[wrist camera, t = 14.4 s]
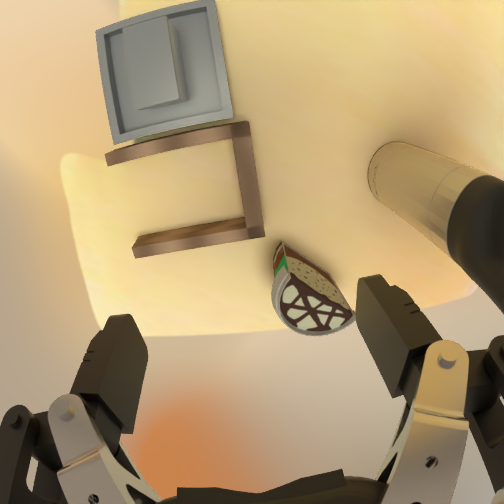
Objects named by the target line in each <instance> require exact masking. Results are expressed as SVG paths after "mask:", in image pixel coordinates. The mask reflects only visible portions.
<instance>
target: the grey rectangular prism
mask: <svg viewBox="0 0 504 504" xmlns="http://www.w3.org/2000/svg"><path fill="white" fill-rule="evenodd" d="M122 30H123V38H124V46H125V53H126V60H127V67H128V74H129V80H130V86H131V92H132V97H133V103H134V108H135V110H146V109H155V108H159V107H163V106H167V105H171V104H175V103H180V102H184V101H189V99H188V93H187V87H186V81H185V75H184V69H183V63H182V57H181V50H180V44H179V37H178V31H177V30H176V29H175V27H174V26H173V24H172V23H171V21H170V20H169V19H168V17H167V16H162V17H158V18H154V19H151V20H147V21H144V22H141V23H137V24H134V25H131V26H128V27H125V28H122Z"/></svg>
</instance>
